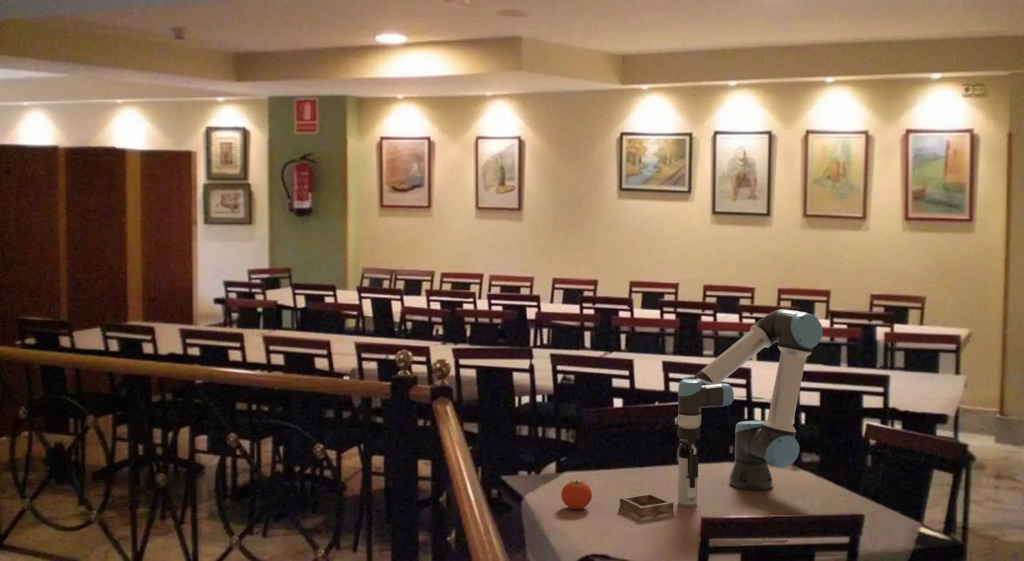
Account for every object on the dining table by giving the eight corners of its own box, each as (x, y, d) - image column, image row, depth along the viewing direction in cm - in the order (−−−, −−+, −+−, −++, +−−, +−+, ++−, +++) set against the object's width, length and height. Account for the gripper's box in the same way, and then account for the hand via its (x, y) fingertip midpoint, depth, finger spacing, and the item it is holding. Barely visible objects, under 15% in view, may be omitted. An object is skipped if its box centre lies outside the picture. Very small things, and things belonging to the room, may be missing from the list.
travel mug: (697, 508, 348) (698, 449, 346) (677, 507, 349) (678, 448, 347) (698, 503, 354) (699, 445, 352) (678, 501, 355) (679, 444, 353)
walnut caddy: (651, 504, 352) (651, 492, 352) (674, 515, 340) (674, 502, 340) (618, 509, 346) (618, 498, 346) (641, 520, 334) (641, 508, 334)
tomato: (555, 506, 350) (556, 476, 349) (583, 502, 354) (583, 473, 353) (569, 514, 340) (569, 484, 340) (597, 511, 344) (597, 481, 344)
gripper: (670, 420, 358) (669, 486, 360) (686, 433, 339) (685, 502, 341) (691, 419, 359) (690, 485, 361) (709, 432, 340) (707, 501, 342)
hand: (687, 493), depth 351 cm, fingers closed on travel mug, 6 cm apart
